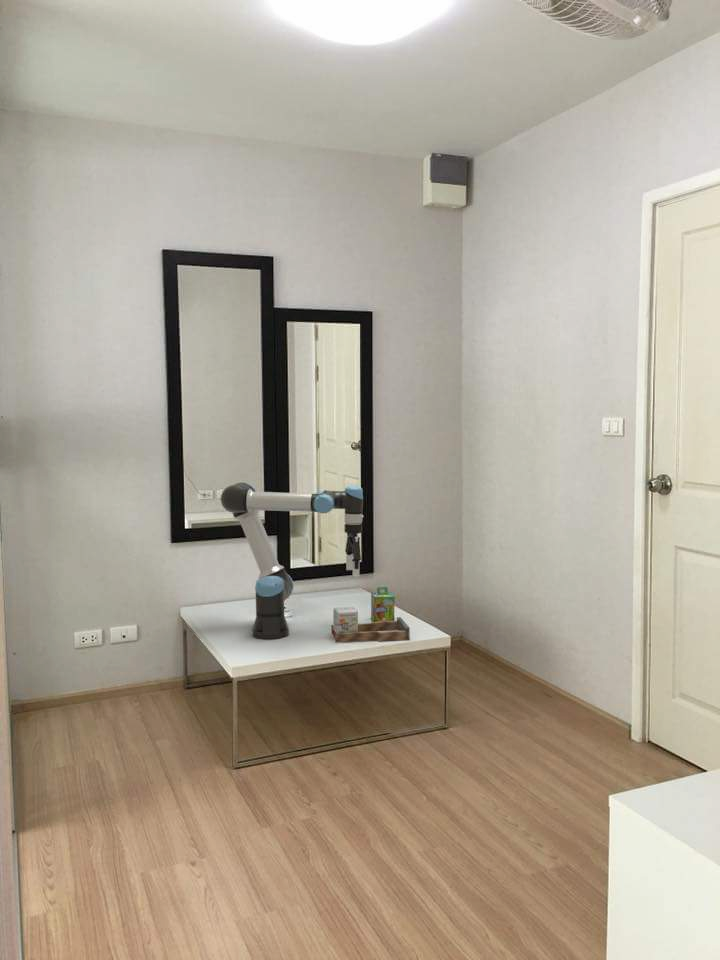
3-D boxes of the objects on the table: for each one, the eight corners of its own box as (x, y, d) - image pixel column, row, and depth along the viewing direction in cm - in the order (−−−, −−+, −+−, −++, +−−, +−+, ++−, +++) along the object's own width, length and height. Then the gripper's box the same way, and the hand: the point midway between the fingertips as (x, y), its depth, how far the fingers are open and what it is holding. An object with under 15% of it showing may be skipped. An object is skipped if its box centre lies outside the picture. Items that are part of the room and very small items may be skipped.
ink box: (338, 641, 328) (337, 612, 327) (333, 635, 336) (332, 607, 335) (358, 639, 330) (358, 610, 329) (353, 633, 339) (352, 605, 338)
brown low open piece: (336, 643, 324) (336, 631, 324) (330, 632, 341) (330, 620, 340) (409, 639, 329) (409, 627, 329) (400, 628, 346) (400, 617, 345)
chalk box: (374, 623, 355) (374, 590, 353) (370, 618, 364) (370, 585, 362) (395, 622, 356) (394, 589, 355) (391, 617, 365) (390, 584, 364)
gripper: (368, 527, 332) (367, 578, 334) (356, 519, 356) (355, 567, 358) (350, 527, 330) (349, 579, 332) (339, 519, 355) (338, 567, 357)
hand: (352, 573), depth 345 cm, fingers open, 13 cm apart
